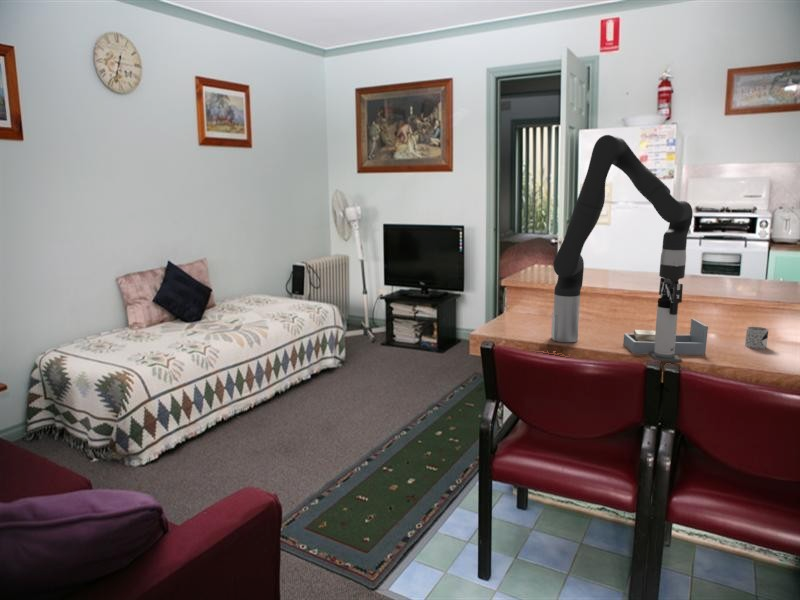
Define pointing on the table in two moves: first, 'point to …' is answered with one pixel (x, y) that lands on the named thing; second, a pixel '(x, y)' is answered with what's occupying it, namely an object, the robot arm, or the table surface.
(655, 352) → the travel mug
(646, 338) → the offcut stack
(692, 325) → the tray
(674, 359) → the mat
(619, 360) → the table surface
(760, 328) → the notched grey stone block
